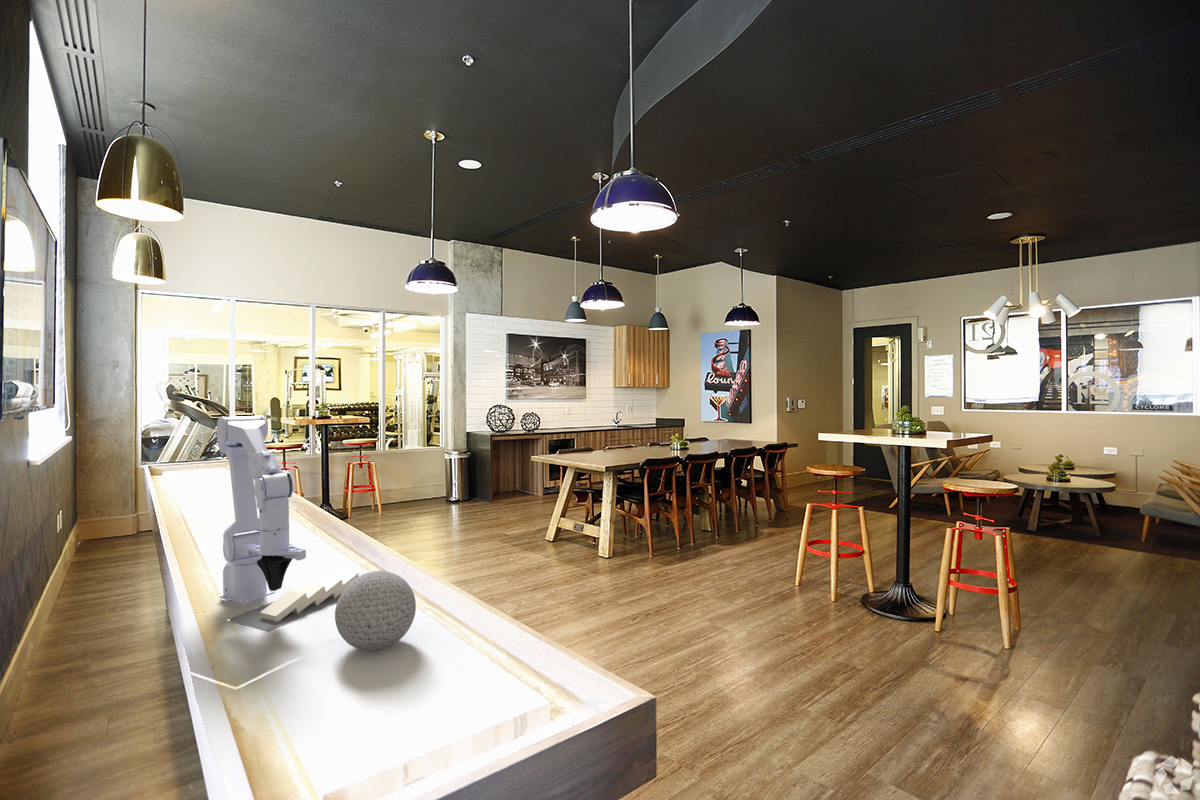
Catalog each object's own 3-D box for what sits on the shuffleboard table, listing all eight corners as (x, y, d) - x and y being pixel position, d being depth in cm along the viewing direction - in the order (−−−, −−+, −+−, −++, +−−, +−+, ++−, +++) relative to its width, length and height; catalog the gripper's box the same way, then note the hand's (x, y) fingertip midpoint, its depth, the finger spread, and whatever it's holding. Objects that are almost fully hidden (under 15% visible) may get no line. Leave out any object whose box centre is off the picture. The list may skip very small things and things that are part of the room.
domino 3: (315, 600, 137) (341, 579, 144) (300, 596, 139) (326, 576, 146) (317, 605, 137) (343, 584, 144) (301, 602, 140) (328, 581, 146)
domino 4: (333, 592, 142) (358, 572, 149) (318, 589, 144) (343, 570, 151) (335, 598, 142) (359, 578, 149) (320, 595, 144) (344, 575, 151)
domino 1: (275, 616, 128) (305, 592, 135) (260, 612, 130) (290, 589, 137) (277, 622, 128) (307, 598, 135) (262, 618, 130) (292, 595, 137)
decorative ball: (338, 672, 108) (337, 591, 107) (333, 639, 121) (332, 567, 120) (422, 654, 115) (422, 578, 114) (409, 625, 128) (408, 557, 127)
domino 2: (296, 607, 132) (324, 585, 139) (280, 604, 134) (309, 582, 141) (298, 613, 133) (326, 591, 140) (282, 610, 135) (311, 588, 142)
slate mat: (224, 621, 129) (224, 619, 129) (333, 580, 156) (333, 578, 156) (268, 633, 124) (268, 631, 124) (373, 588, 150) (373, 586, 150)
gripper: (315, 525, 132) (316, 585, 132) (261, 521, 135) (262, 580, 136) (291, 534, 125) (292, 597, 126) (235, 529, 129) (236, 590, 129)
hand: (275, 589), depth 130 cm, fingers closed
